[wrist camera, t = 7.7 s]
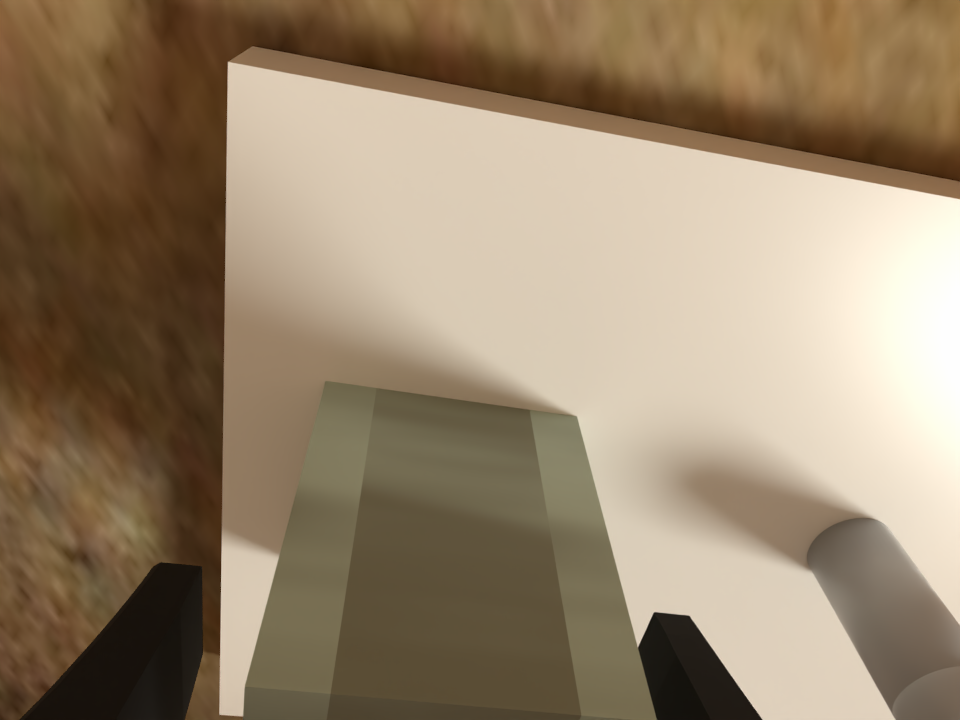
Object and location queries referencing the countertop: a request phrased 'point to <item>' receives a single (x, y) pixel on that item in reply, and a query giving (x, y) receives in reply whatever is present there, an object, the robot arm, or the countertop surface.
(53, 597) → the countertop surface
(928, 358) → the jig board
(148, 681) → the robot arm
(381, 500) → the square socket block
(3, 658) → the countertop surface
